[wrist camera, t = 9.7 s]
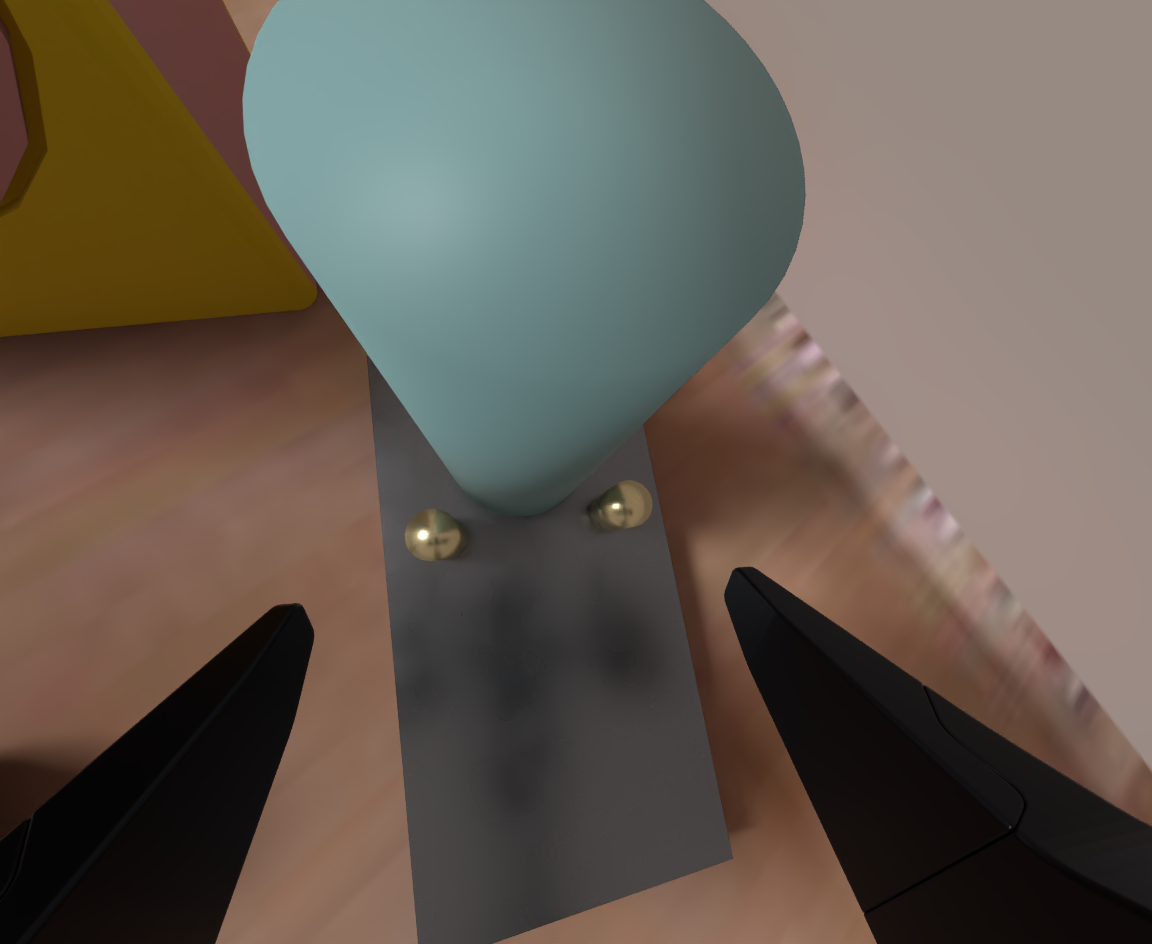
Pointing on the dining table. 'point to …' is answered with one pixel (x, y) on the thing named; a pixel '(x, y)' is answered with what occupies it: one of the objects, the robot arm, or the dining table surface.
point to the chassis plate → (538, 694)
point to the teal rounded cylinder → (527, 210)
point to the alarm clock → (131, 170)
